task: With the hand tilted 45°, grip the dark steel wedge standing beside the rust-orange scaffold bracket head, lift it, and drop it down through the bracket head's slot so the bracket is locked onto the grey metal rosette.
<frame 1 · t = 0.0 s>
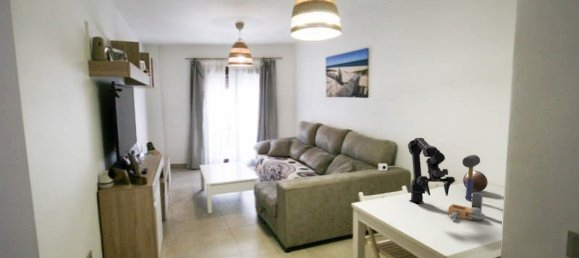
hand: (438, 195, 166), 15 cm above the table, tool tilted 35°, fingers open, 9 cm apart
bracket head: (458, 214, 177), on the table
steel wedge: (476, 214, 178), on the table
rubber mallet: (468, 200, 202), on the table
wooden sphere: (474, 191, 220), on the table
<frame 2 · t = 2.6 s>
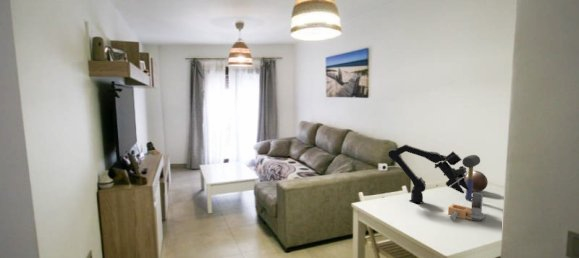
hand: (466, 191, 181), 12 cm above the table, tool tilted 45°, fingers open, 9 cm apart
nothing on the table moved.
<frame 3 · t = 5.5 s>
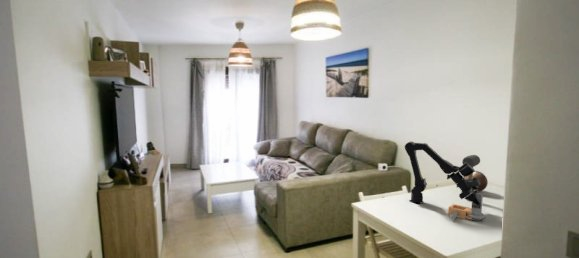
hand: (479, 203, 177), 7 cm above the table, tool tilted 45°, fingers closed on steel wedge, 3 cm apart
steel wedge: (476, 214, 178), on the table, touching gripper
everything else where it was.
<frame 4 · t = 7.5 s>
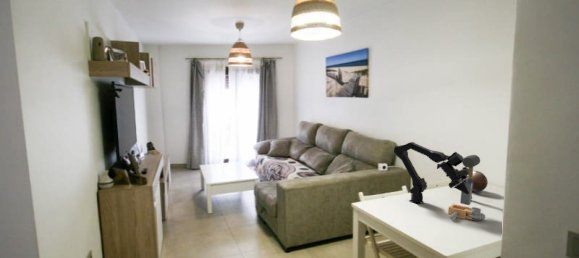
hand: (469, 193, 175), 13 cm above the table, tool tilted 45°, fingers closed on steel wedge, 3 cm apart
steel wedge: (465, 203, 177), point 7 cm above the table, touching gripper
everything else where it was.
when the fingers open (8 cm above the table, at t = 9.9 s): steel wedge drops 1 cm, resting in bracket head.
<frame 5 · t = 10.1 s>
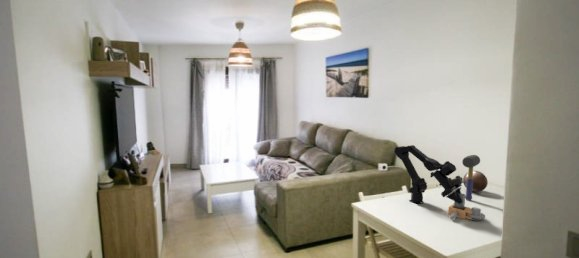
hand: (462, 202, 175), 8 cm above the table, tool tilted 45°, fingers open, 6 cm apart
steel wedge: (458, 214, 177), resting in bracket head
everything else where it was.
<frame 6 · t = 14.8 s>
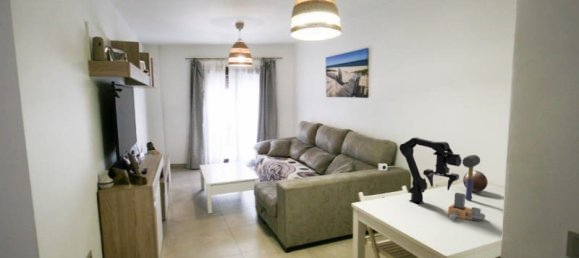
hand: (439, 188, 184), 13 cm above the table, tool pointing down, fingers open, 9 cm apart
nothing on the table moved.
at the end: steel wedge 0.0 cm off-centre on the bracket head, point 0.0 cm above the bracket head's base; steel wedge tilted 0°; the gripper is holding nothing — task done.
